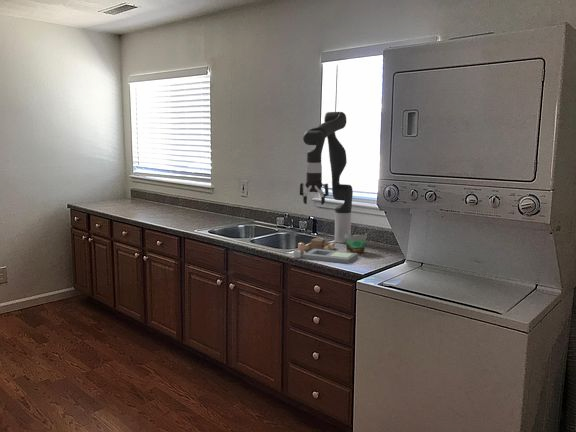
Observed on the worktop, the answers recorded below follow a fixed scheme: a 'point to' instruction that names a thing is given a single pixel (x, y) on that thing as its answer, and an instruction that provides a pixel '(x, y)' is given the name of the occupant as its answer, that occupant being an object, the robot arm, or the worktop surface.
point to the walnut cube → (317, 243)
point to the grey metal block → (297, 253)
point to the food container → (355, 243)
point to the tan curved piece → (327, 247)
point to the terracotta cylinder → (301, 247)
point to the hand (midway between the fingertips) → (314, 204)
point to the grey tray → (330, 255)
